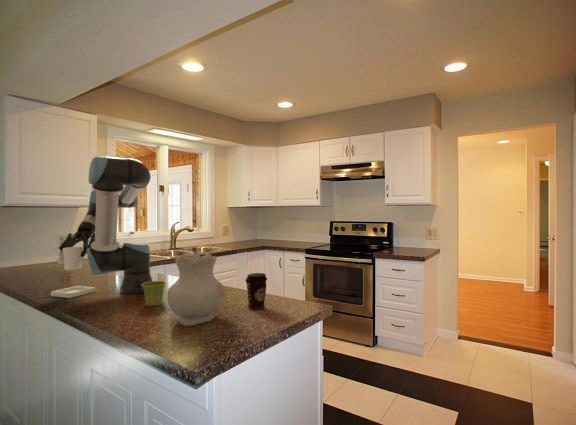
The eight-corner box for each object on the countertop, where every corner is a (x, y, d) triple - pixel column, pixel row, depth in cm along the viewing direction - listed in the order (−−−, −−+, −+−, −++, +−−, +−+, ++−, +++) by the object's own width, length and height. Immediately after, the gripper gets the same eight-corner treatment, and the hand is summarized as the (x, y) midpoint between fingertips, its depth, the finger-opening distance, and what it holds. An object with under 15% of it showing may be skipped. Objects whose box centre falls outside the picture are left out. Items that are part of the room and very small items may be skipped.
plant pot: (171, 302, 138) (170, 281, 138) (153, 308, 130) (153, 286, 130) (154, 300, 142) (154, 280, 142) (136, 306, 134) (136, 284, 134)
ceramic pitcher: (164, 317, 122) (157, 250, 121) (215, 305, 132) (209, 243, 130) (175, 336, 103) (167, 257, 102) (235, 320, 113) (228, 248, 112)
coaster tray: (95, 291, 161) (95, 287, 161) (70, 298, 149) (70, 293, 149) (76, 289, 165) (76, 285, 165) (51, 296, 153) (51, 291, 153)
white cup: (73, 270, 152) (72, 248, 152) (58, 270, 154) (58, 248, 154) (86, 267, 160) (86, 246, 160) (73, 267, 162) (72, 246, 162)
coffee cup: (271, 305, 131) (270, 273, 131) (263, 312, 123) (262, 277, 123) (251, 304, 134) (250, 272, 134) (242, 310, 126) (241, 276, 126)
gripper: (111, 230, 172) (93, 266, 156) (72, 231, 172) (50, 267, 156) (105, 220, 167) (86, 256, 151) (65, 221, 167) (41, 257, 151)
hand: (68, 262), depth 154 cm, fingers closed on white cup, 8 cm apart
